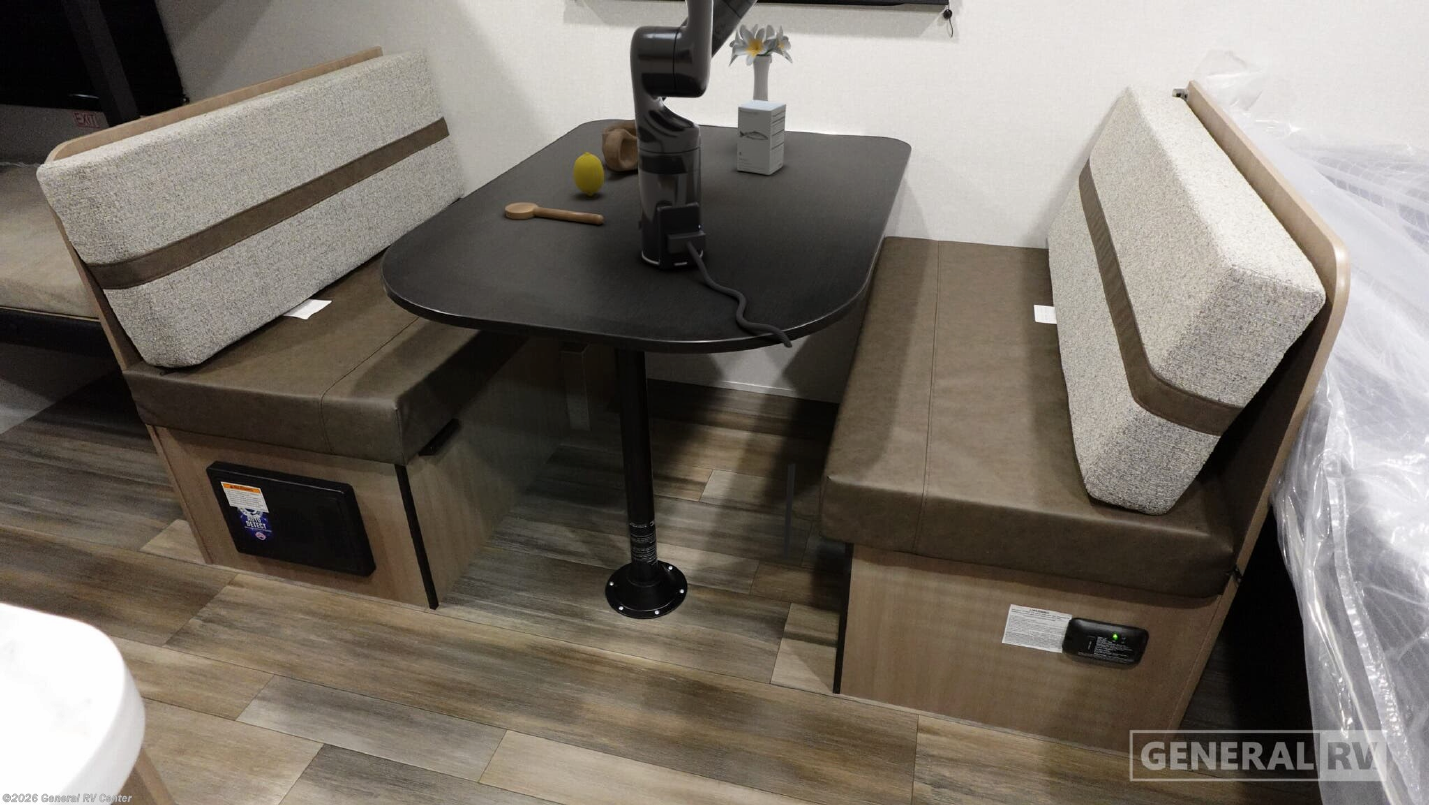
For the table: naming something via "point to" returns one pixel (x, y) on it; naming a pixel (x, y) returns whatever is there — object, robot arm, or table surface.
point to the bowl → (620, 146)
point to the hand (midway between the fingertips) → (647, 102)
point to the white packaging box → (760, 136)
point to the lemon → (588, 173)
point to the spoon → (549, 213)
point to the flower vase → (760, 53)
